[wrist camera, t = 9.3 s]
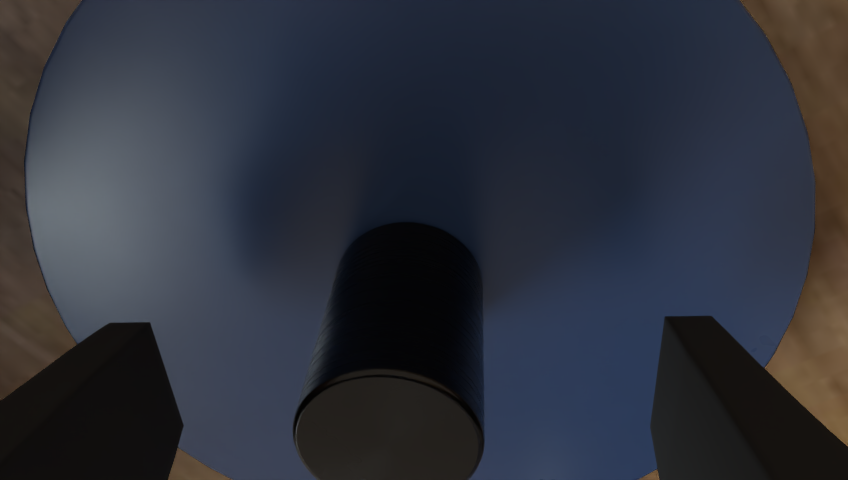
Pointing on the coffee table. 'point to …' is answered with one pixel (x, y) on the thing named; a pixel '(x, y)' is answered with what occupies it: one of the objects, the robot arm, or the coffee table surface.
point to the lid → (419, 219)
